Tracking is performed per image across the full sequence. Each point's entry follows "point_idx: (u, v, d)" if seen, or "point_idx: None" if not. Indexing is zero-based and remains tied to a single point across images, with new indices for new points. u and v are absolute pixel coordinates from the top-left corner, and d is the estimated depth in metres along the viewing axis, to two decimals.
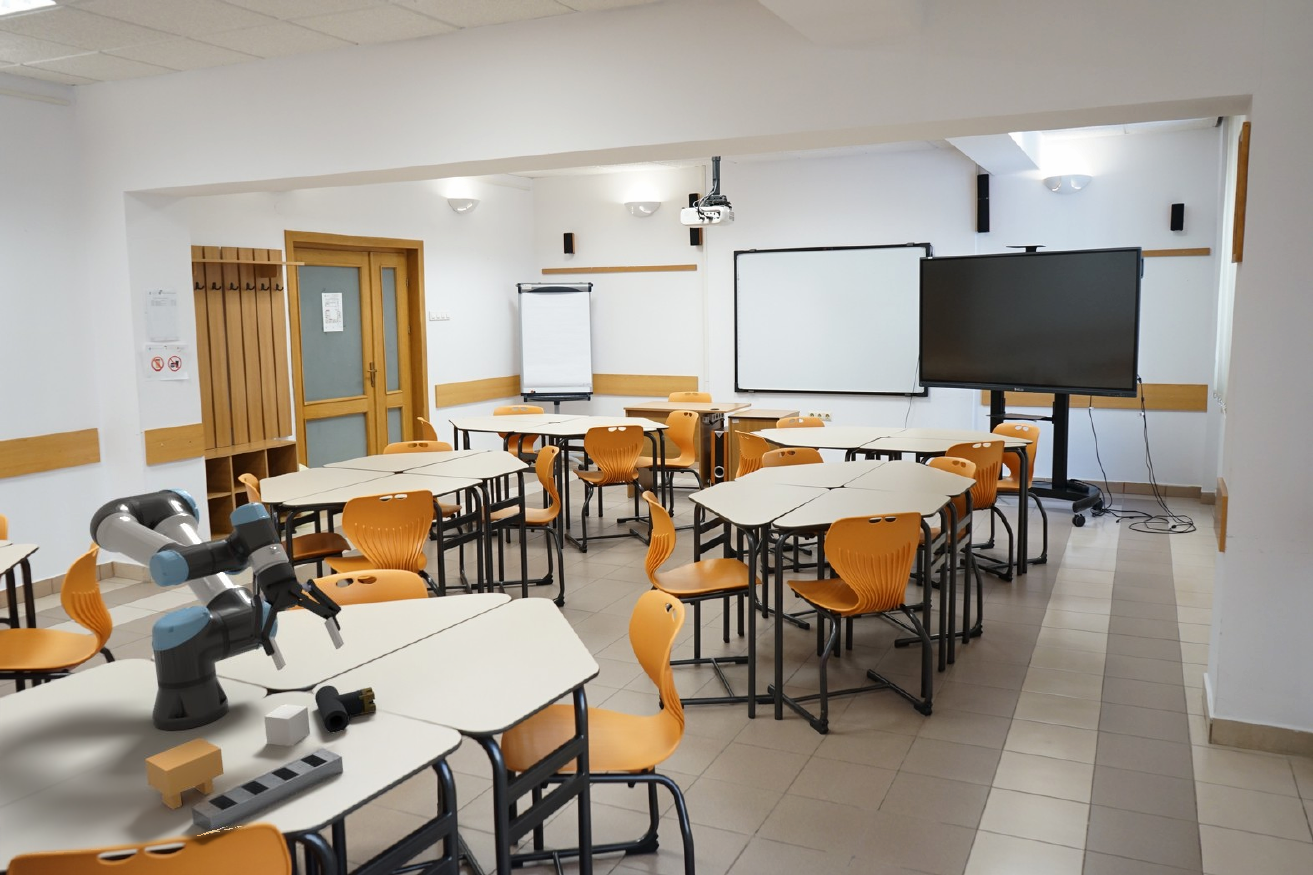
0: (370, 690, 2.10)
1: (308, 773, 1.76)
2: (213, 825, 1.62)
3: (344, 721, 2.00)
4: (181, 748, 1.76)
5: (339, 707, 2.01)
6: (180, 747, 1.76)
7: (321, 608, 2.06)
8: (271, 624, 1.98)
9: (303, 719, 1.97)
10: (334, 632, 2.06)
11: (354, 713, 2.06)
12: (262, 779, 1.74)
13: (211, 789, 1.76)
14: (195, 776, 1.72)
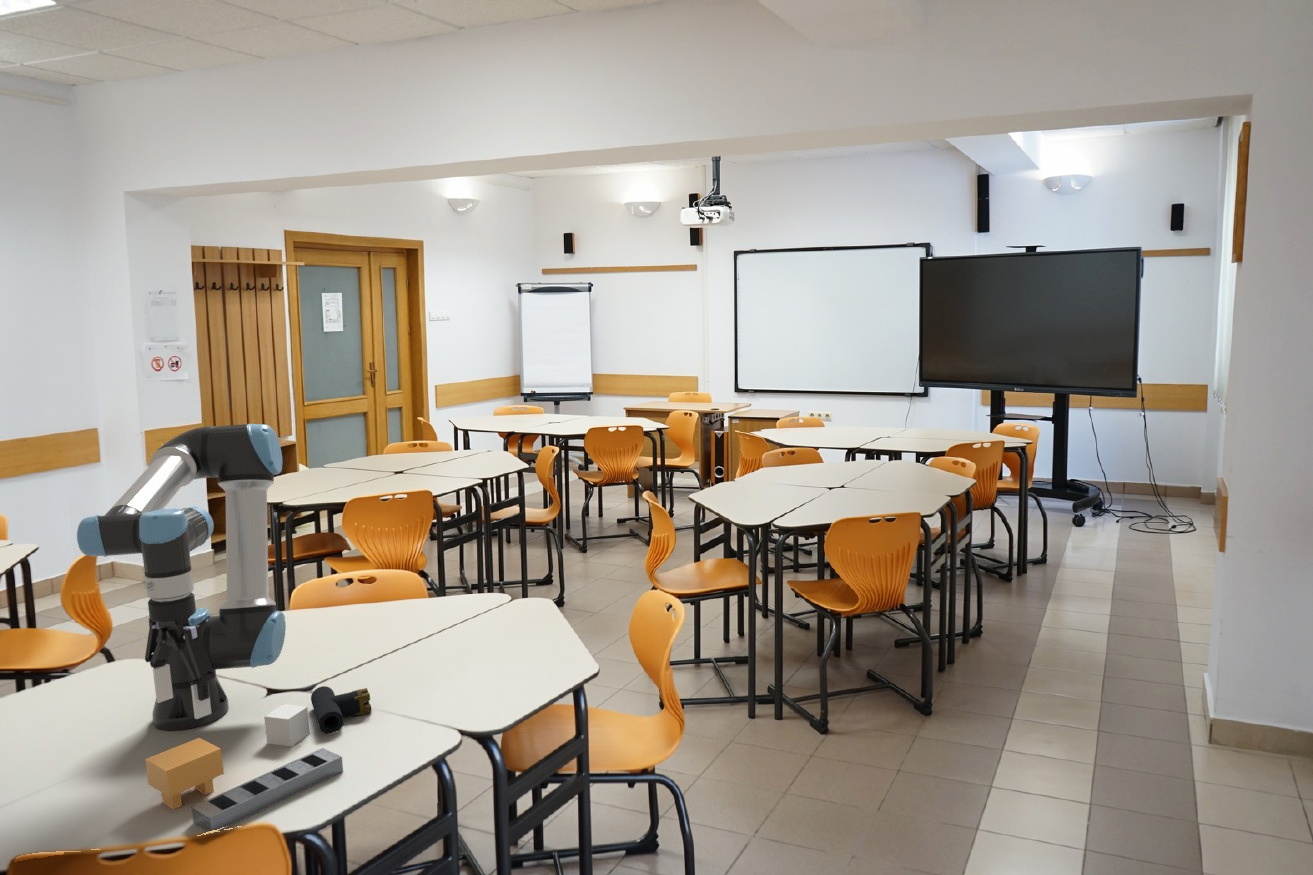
0: (365, 691, 2.09)
1: (308, 773, 1.76)
2: (213, 825, 1.62)
3: (339, 722, 2.00)
4: (181, 748, 1.76)
5: (334, 708, 2.01)
6: (180, 747, 1.76)
7: (188, 668, 1.68)
8: (155, 656, 1.74)
9: (303, 719, 1.97)
10: None
11: (349, 714, 2.06)
12: (262, 779, 1.74)
13: (211, 789, 1.76)
14: (195, 776, 1.72)
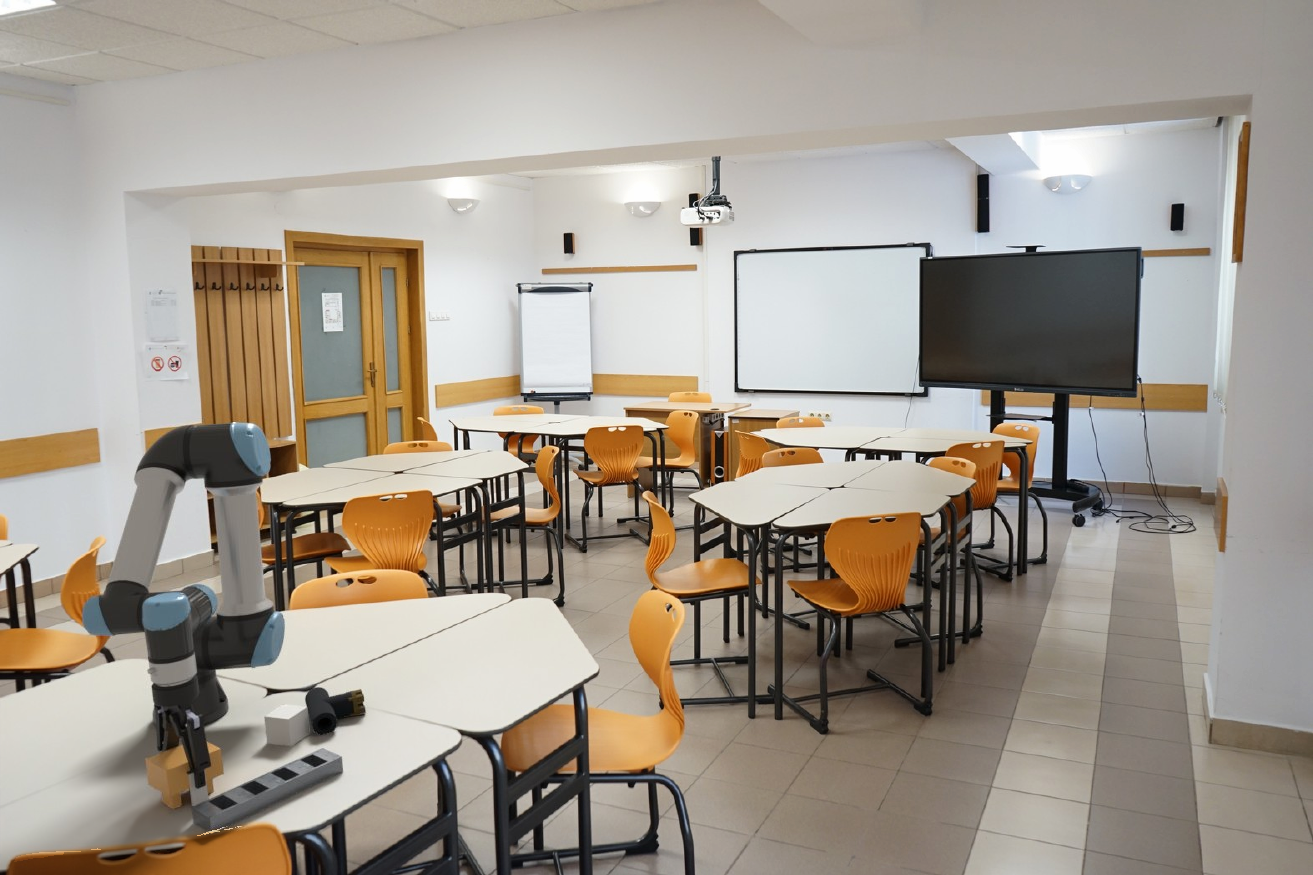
0: (360, 692, 2.09)
1: (308, 773, 1.76)
2: (213, 825, 1.62)
3: (332, 723, 1.99)
4: (181, 748, 1.76)
5: (328, 709, 2.00)
6: (180, 747, 1.76)
7: (186, 755, 1.70)
8: (165, 743, 1.75)
9: (303, 719, 1.97)
10: None
11: (343, 715, 2.05)
12: (262, 779, 1.74)
13: (211, 789, 1.76)
14: None
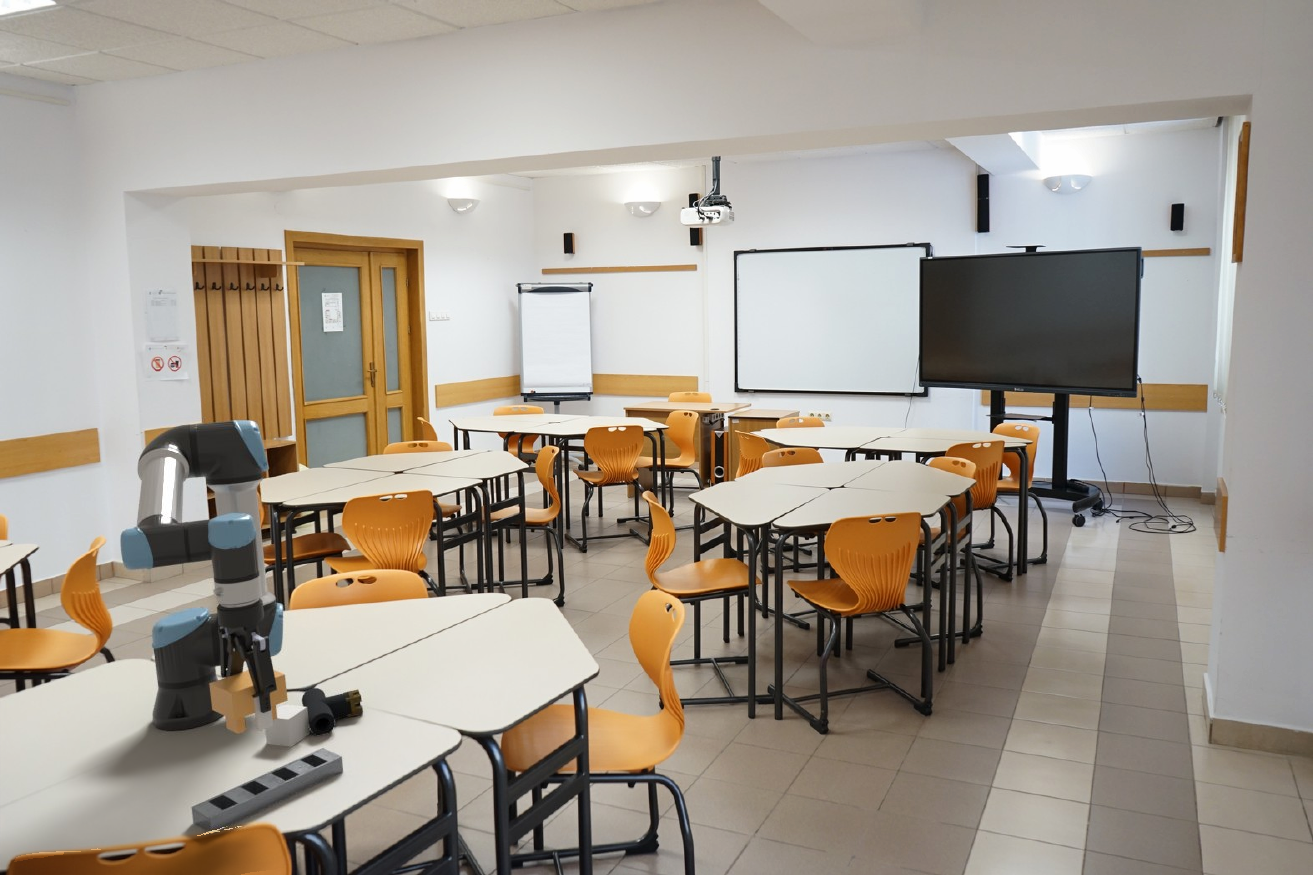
0: (357, 692, 2.09)
1: (308, 773, 1.76)
2: (213, 825, 1.62)
3: (330, 724, 1.99)
4: (245, 674, 1.73)
5: (326, 709, 2.00)
6: (243, 673, 1.73)
7: (251, 678, 1.67)
8: (229, 669, 1.72)
9: (303, 719, 1.97)
10: None
11: (341, 716, 2.05)
12: (262, 779, 1.74)
13: (274, 716, 1.73)
14: None
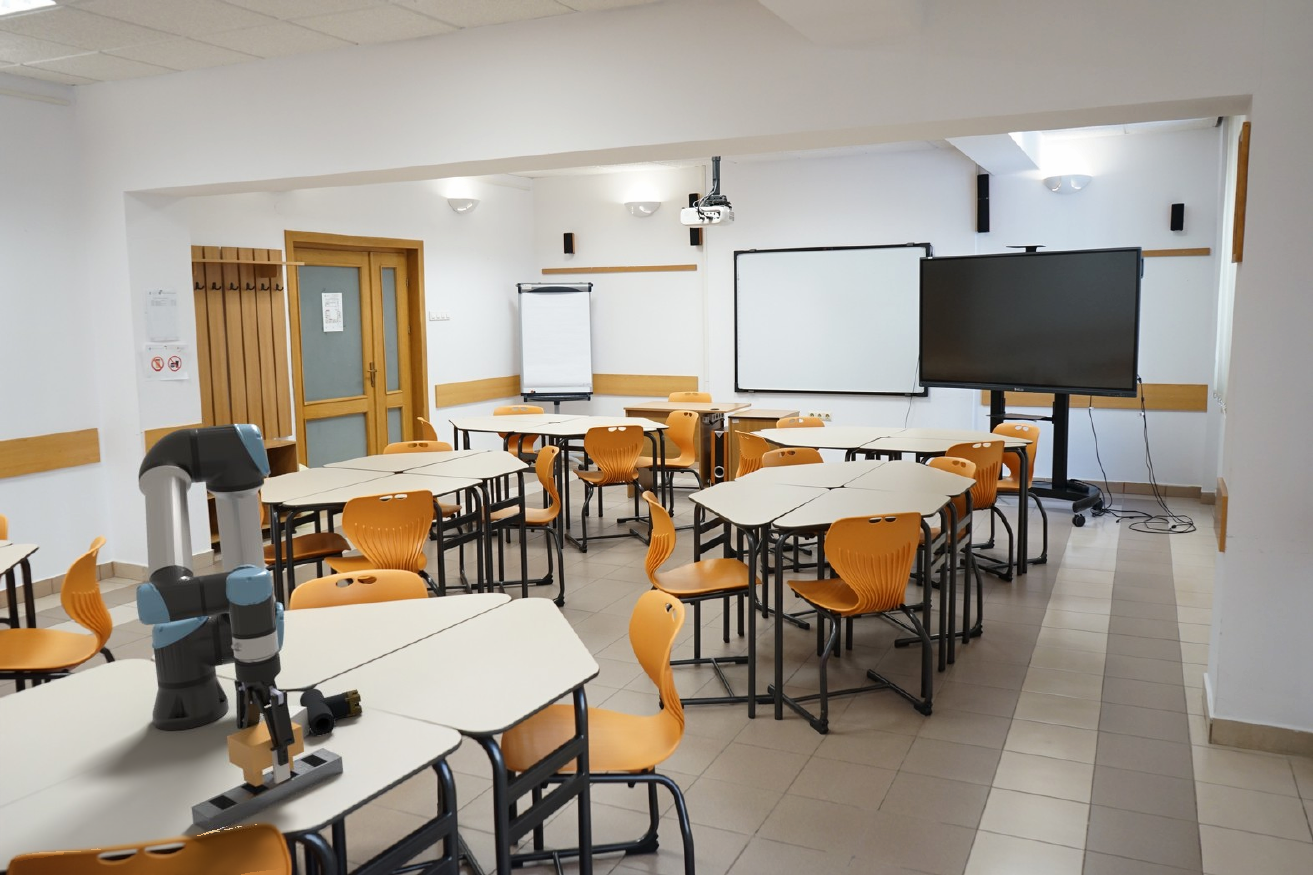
0: (356, 692, 2.09)
1: (308, 773, 1.76)
2: (213, 825, 1.62)
3: (330, 724, 1.99)
4: (261, 726, 1.74)
5: (325, 709, 2.00)
6: (260, 725, 1.75)
7: (269, 731, 1.69)
8: (246, 721, 1.73)
9: (303, 719, 1.97)
10: None
11: (340, 716, 2.05)
12: None
13: (291, 767, 1.75)
14: None
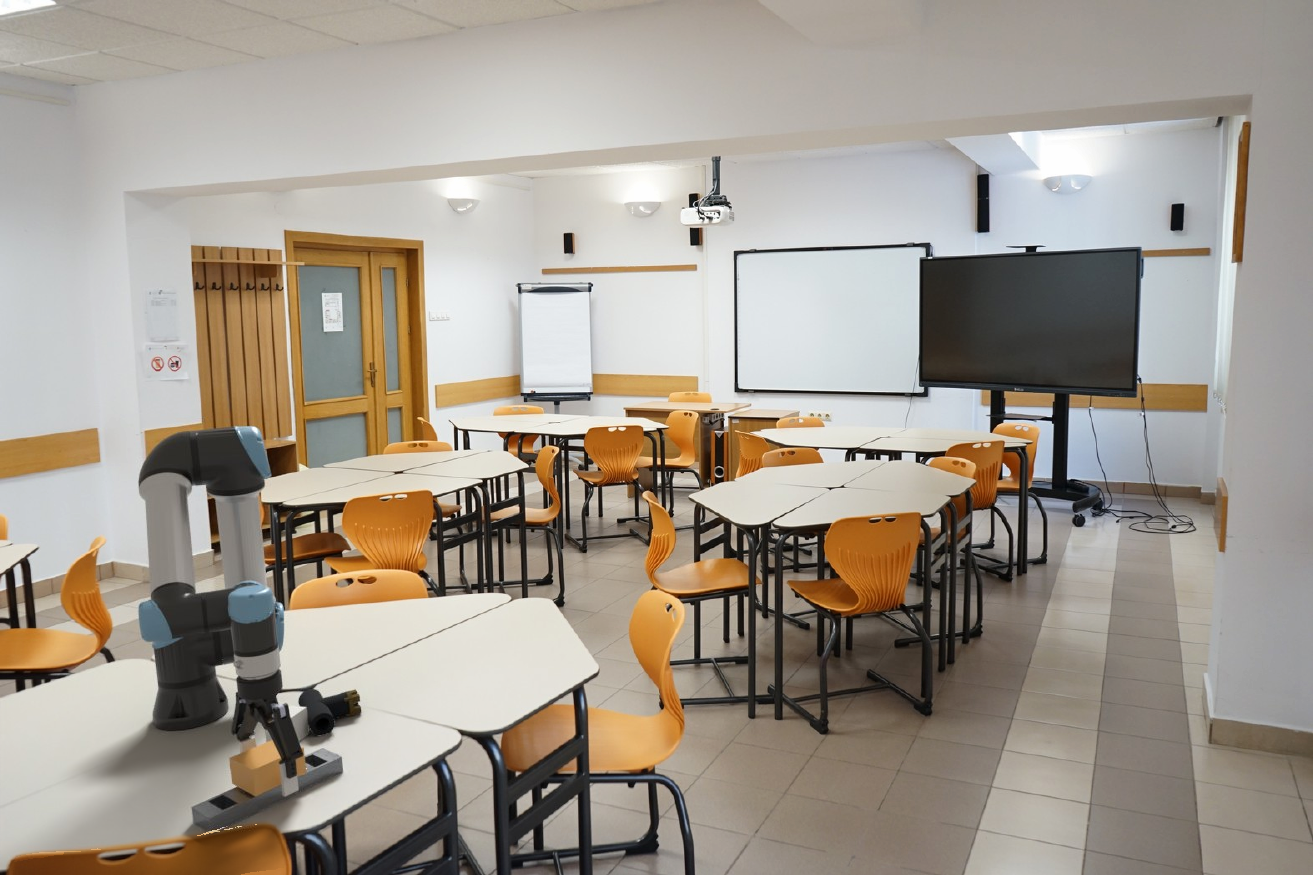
0: (355, 692, 2.09)
1: (308, 773, 1.76)
2: (213, 825, 1.62)
3: (330, 724, 1.99)
4: (263, 747, 1.75)
5: (325, 709, 2.00)
6: (262, 746, 1.75)
7: (276, 746, 1.68)
8: (242, 730, 1.75)
9: (303, 719, 1.97)
10: None
11: (339, 716, 2.05)
12: None
13: None
14: (280, 775, 1.71)
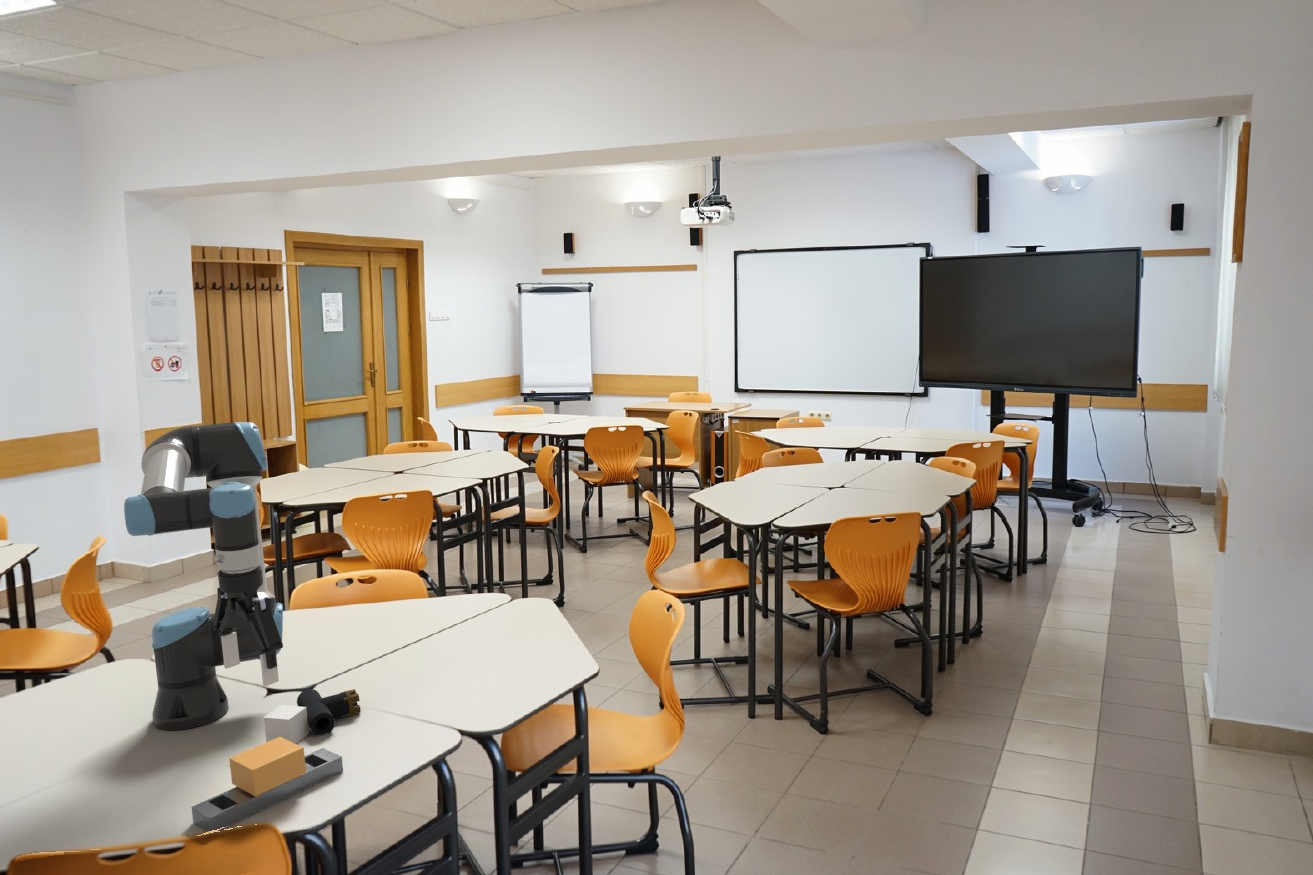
0: (354, 692, 2.09)
1: (308, 773, 1.76)
2: (213, 825, 1.62)
3: (330, 723, 1.99)
4: (263, 747, 1.75)
5: (325, 709, 2.00)
6: (262, 746, 1.75)
7: (256, 637, 1.74)
8: (224, 624, 1.80)
9: (303, 719, 1.97)
10: None
11: (339, 715, 2.05)
12: None
13: None
14: (280, 775, 1.71)
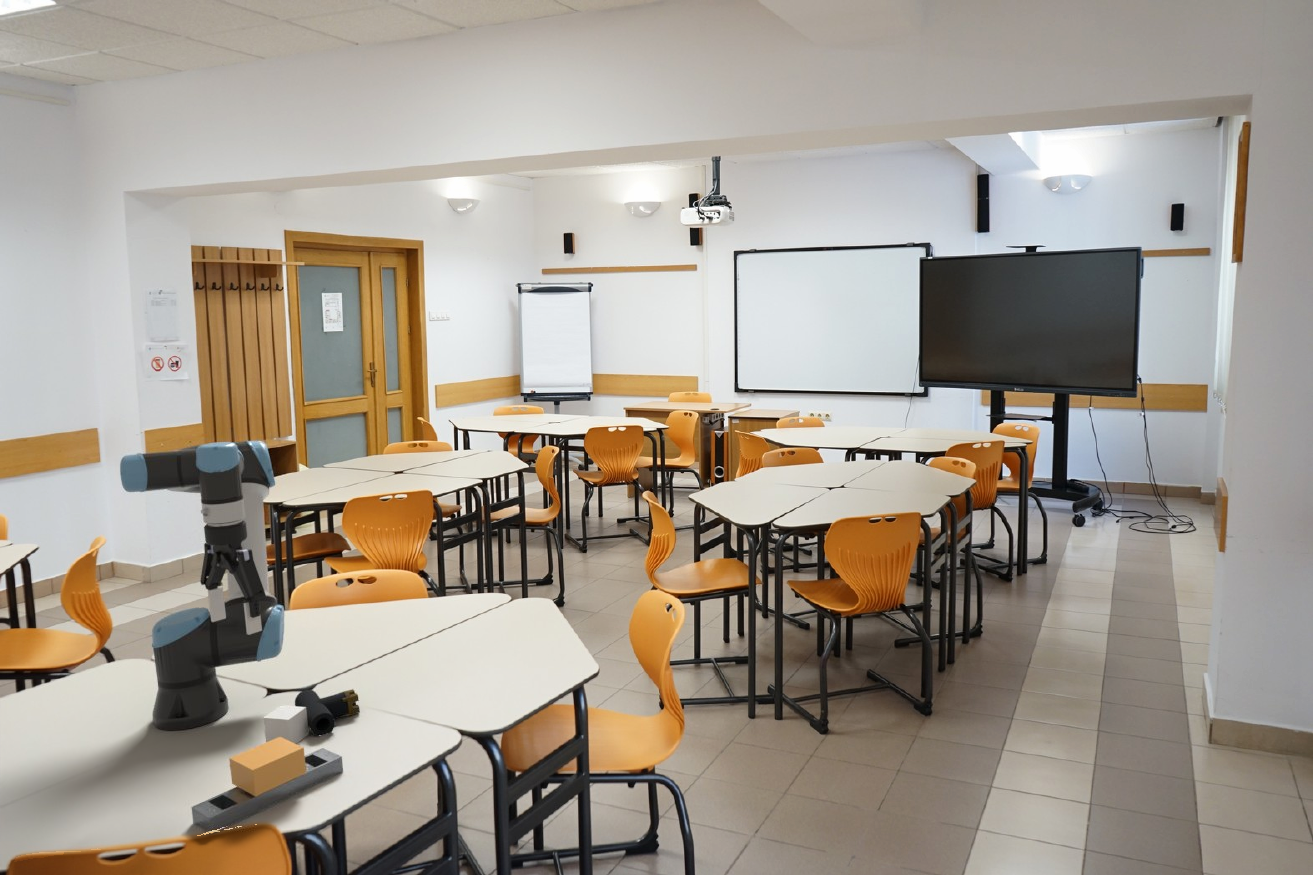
0: (352, 692, 2.09)
1: (308, 773, 1.76)
2: (213, 825, 1.62)
3: (331, 723, 1.99)
4: (263, 747, 1.75)
5: (325, 709, 2.00)
6: (262, 746, 1.75)
7: (240, 587, 1.82)
8: (210, 578, 1.89)
9: (303, 719, 1.97)
10: None
11: (338, 716, 2.05)
12: None
13: None
14: (280, 775, 1.71)
